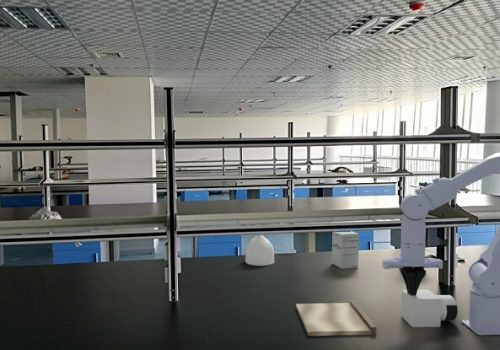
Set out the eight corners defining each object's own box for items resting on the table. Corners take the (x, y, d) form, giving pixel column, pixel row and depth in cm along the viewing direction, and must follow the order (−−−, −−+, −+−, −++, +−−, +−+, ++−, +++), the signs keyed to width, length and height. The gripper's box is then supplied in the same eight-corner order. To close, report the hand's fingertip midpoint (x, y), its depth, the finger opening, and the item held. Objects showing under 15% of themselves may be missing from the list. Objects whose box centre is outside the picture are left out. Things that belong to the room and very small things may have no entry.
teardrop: (239, 261, 167) (239, 230, 166) (261, 256, 174) (261, 227, 174) (258, 267, 159) (258, 234, 158) (280, 262, 166) (280, 231, 165)
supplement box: (331, 263, 163) (331, 230, 163) (348, 262, 166) (349, 229, 165) (340, 269, 156) (341, 234, 156) (359, 267, 159) (359, 233, 158)
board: (354, 306, 120) (354, 300, 120) (376, 334, 102) (376, 327, 102) (296, 307, 119) (296, 301, 119) (308, 336, 101) (308, 328, 101)
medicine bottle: (400, 316, 113) (446, 315, 113) (412, 327, 106) (460, 327, 106) (401, 289, 112) (447, 289, 113) (412, 299, 105) (461, 298, 106)
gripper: (434, 239, 112) (432, 290, 113) (378, 239, 112) (377, 291, 113) (447, 245, 105) (445, 300, 106) (388, 245, 105) (387, 301, 106)
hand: (411, 296), depth 109 cm, fingers closed
